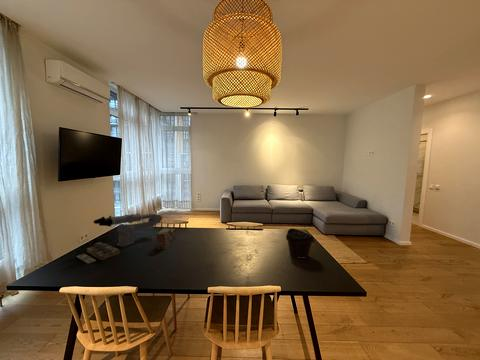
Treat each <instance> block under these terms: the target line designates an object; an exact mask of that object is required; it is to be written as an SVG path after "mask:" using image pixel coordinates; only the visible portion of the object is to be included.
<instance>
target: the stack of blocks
mask: <svg viewBox="0 0 480 360" xmlns="http://www.w3.org/2000/svg"><path fill="white" fill-rule="evenodd" d="M175 240H176V228H167V227H166V228H165V227H164V228H162V229H161V230H160V231H158V232H157V233H156V249H157V250H166V249H167V248H168V247H169V246H170V245H171V244H172V243H173V242H174V241H175Z"/></svg>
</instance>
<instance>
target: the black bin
mask: <svg viewBox="0 0 480 360" xmlns="http://www.w3.org/2000/svg"><path fill="white" fill-rule="evenodd" d="M285 239H286V241H287V244H288V251H289V255H290V257H293V259H298V260H299V259H300V260H305V259H308V257H309V254H310V251H311V247H312V244H314V243H315V238H314V236H313V234H309V233H306V232H304V231H301V230H299V229H296V228H289V229H288V230H287V234H286V236H285ZM307 256H308V257H307ZM298 257H301V258H298ZM302 257H305V258H302Z"/></svg>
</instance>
